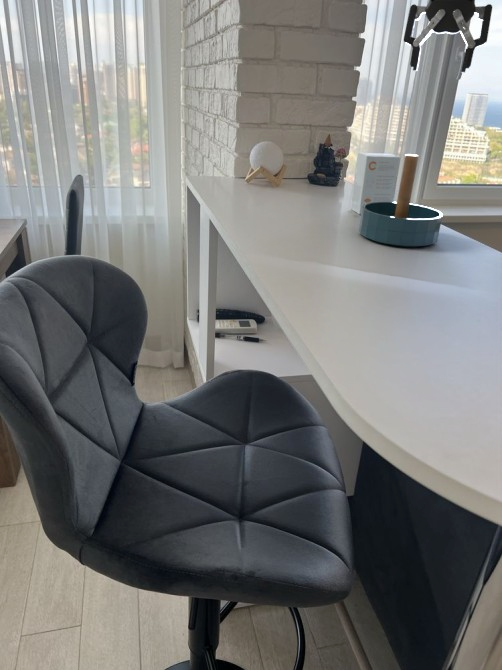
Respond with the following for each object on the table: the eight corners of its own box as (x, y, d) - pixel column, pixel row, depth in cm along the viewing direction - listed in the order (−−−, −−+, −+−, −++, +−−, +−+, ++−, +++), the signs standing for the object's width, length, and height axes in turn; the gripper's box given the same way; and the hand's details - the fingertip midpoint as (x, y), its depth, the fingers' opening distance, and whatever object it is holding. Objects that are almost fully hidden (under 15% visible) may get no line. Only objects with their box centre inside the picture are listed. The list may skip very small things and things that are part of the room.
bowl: (437, 234, 104) (443, 207, 102) (434, 253, 91) (441, 223, 89) (365, 224, 108) (369, 198, 106) (352, 241, 96) (356, 212, 93)
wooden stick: (404, 234, 100) (419, 155, 94) (403, 237, 98) (418, 156, 92) (392, 232, 101) (406, 153, 94) (390, 235, 99) (404, 155, 92)
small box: (381, 209, 124) (390, 153, 118) (391, 215, 118) (401, 156, 112) (349, 208, 122) (357, 152, 117) (358, 214, 117) (367, 155, 111)
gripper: (502, -32, 88) (478, 74, 95) (417, -30, 92) (401, 71, 99) (505, -41, 81) (480, 72, 88) (414, -39, 85) (397, 69, 93)
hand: (438, 71), depth 94 cm, fingers open, 8 cm apart
